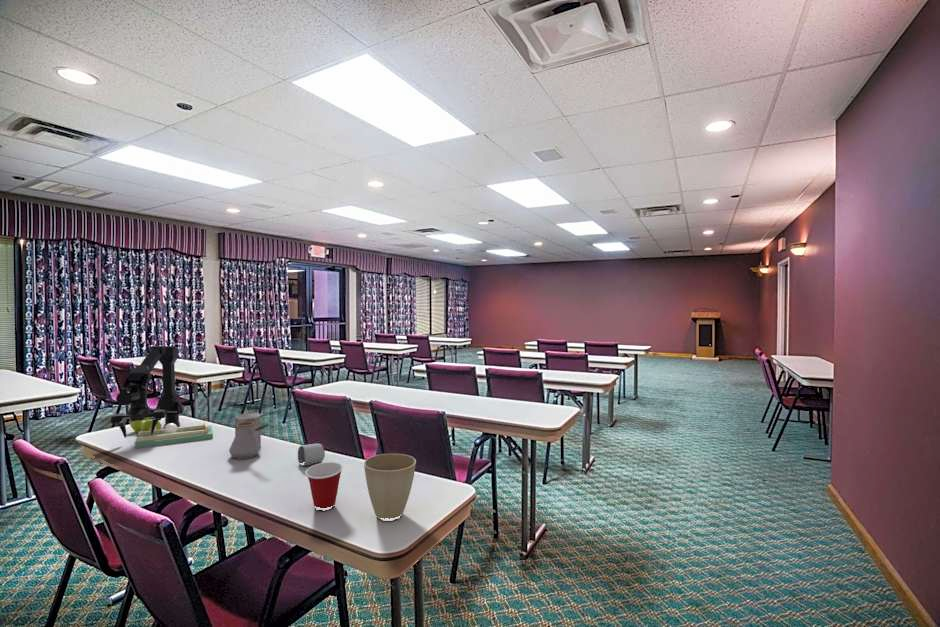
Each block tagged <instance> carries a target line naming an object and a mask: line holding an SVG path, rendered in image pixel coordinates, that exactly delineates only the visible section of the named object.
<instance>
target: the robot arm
mask: <svg viewBox="0 0 940 627" xmlns="http://www.w3.org/2000/svg"><path fill="white" fill-rule="evenodd" d="M179 353H180V350H179V348H178V347H177V346H176V345H168V346H167V345H154V346H151V347H150V350H149V352H148V353H147V355H146V356H145V358H144V359H143V360H142V362H141V363H140V364H139V365H138V366H136V367H134V368H132V369H131V370H130V371H129V373H128V374H127V375H126V377H125V380H124V382H123V384H122V388H121V391H120V392H119V393H118V394H117V395H116V398H115V400H116V402H117V403H118V404H119V405H120V406H127V405H130V409H129V414H124V413H113V414H112V416H111V417H110V424H114V425H115V426H118V427H119V428H120V431H121V432H122V435H123V437H124V438H127V428H126V421H125V420H130V422H131V421H137V420H140V421H141V420H144V418H147V417H148V418H152V419H153V423H152V430H151V435H152V434H153V431H154V428H155V426H156V424H157V422H158V421H159V422H160V421H162V419H164V424H163V428H164V427H165V426H166V425H167V424H169V423H174V424H176V426H177V427H180V426H181V422H180V414H183V413H184V410H185V408H184V405H183V403H181V398H180V396H179V395H178V394H177V393H176V377H175V376H176V373H175V372H176V371H175V369H176V368H175V363H176V361H177V360H178V359H179ZM158 362H160V364H161V366H162V390H163V392H162V393H163V394H162V396H161V397H160V398H159V399H158V409H156V410H155V409H154V411H153V412H151V407H148V406H147V405H148V393H147V392H148V389H149V387H150V386H149V384H148V383H149V382H150V381H151V378H152V373H151V372H153V369H154V368H155V366H156V365H157V364H158Z"/></svg>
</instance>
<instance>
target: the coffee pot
mask: <svg viewBox="0 0 940 627" xmlns="http://www.w3.org/2000/svg"><path fill="white" fill-rule="evenodd" d="M253 425H254V423H253V422H242V423H238V424H237V425H236V426H237V428H238V431H237V434H236V436H234V438H233V441H232V443H231V445H230V448H229V450H228V452H229V454H230V455H231V456H232V457H234V458H235V459H236V460H237V459H238V460H245V459H251V458H254V457H255V456H256V455H257V454H258V453H259V452H260V451H261V449H262V444H261V445H260V443H259V441H258V439H257V437H256V435H255V433H254V432H255V431H258V430H263V429H266V430H267V431H269V430H270V428H267V427H269V426H270V424H263V425H261V426H260V427H258V428H257V429H255V430H253V429H252V427H253ZM250 457H251V458H250Z"/></svg>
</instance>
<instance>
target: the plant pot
mask: <svg viewBox="0 0 940 627" xmlns="http://www.w3.org/2000/svg"><path fill="white" fill-rule="evenodd" d="M363 466H364V475H365V481H366V482H365V483H366V485H367V492H368V494H369V499H370V501H371V506H372V509H373V511H374V514H375V517H376V516H377V517H379V518H384V519H385V518H389V519H390V518H395V517H398V516H400V515H401V514H402V515H404V514H403V513H404V512H405V509H406V506H407V503H408V501H409V497H410V494H411V489H412V487H413V486H412V485H413V481H414V476H415V472H416V466H417V460H416V458H414V456H412V455H408V454H404V453H382V454H376V455H373V456H370V457H368V458H366V459H365V460H364V461H363ZM377 517H376V518H377Z"/></svg>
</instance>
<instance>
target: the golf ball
mask: <svg viewBox="0 0 940 627" xmlns="http://www.w3.org/2000/svg"><path fill="white" fill-rule="evenodd" d="M177 427H178V426H176V424H174V423H169V424H167V425H166V426H165V427H164V426H163V429H164V432H165V433H166V434H172V433H175V432H176V431H177Z"/></svg>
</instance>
